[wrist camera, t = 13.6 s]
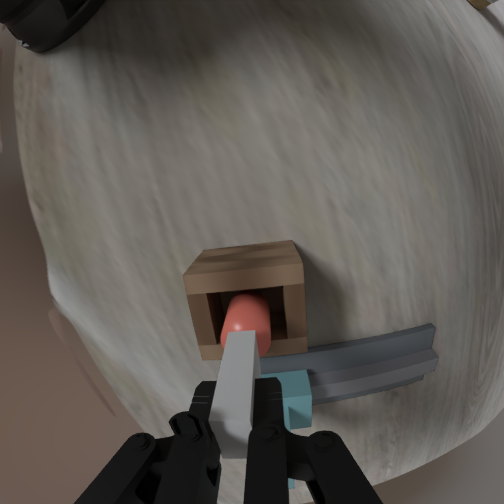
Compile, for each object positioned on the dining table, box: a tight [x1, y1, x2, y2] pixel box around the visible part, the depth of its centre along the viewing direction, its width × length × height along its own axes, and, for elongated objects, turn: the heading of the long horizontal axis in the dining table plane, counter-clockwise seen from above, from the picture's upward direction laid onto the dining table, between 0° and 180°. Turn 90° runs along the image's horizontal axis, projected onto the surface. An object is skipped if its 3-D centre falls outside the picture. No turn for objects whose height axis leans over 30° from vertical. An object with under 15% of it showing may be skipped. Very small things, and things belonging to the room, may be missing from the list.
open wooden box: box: [183, 240, 308, 360], centre depth 22 cm, size 8×7×7 cm
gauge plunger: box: [221, 290, 271, 357], centre depth 18 cm, size 3×3×4 cm
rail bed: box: [259, 323, 439, 405], centre depth 26 cm, size 24×8×3 cm, turn 97°
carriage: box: [260, 370, 312, 489], centre depth 21 cm, size 7×5×12 cm
